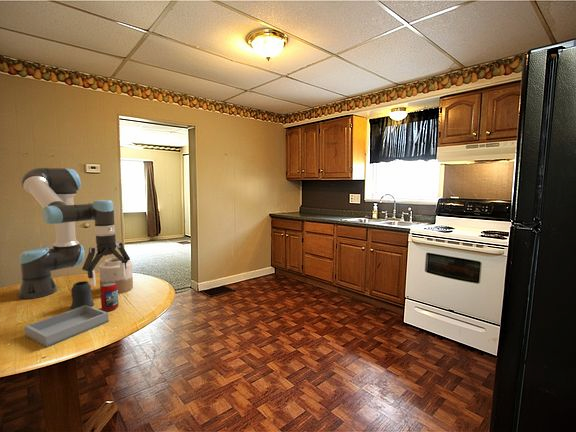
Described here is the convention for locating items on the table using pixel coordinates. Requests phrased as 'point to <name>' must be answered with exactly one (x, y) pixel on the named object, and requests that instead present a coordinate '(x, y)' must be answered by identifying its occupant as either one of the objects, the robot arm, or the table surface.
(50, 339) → the bin
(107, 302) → the beverage can
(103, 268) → the vase
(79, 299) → the mug
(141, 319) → the table surface
